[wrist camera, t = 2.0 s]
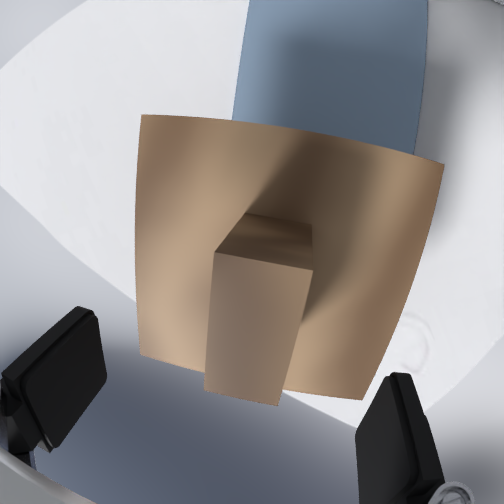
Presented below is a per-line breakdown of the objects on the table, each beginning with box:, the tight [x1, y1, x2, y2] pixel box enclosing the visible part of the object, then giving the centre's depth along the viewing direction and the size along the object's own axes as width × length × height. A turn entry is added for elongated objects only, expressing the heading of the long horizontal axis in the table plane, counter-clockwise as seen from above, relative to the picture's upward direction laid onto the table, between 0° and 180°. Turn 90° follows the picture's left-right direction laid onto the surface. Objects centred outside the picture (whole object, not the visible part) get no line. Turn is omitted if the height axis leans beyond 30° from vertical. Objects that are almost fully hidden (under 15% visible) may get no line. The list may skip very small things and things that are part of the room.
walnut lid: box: [135, 115, 444, 406], centre depth 13 cm, size 14×14×6 cm
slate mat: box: [232, 0, 427, 155], centre depth 19 cm, size 14×16×1 cm
